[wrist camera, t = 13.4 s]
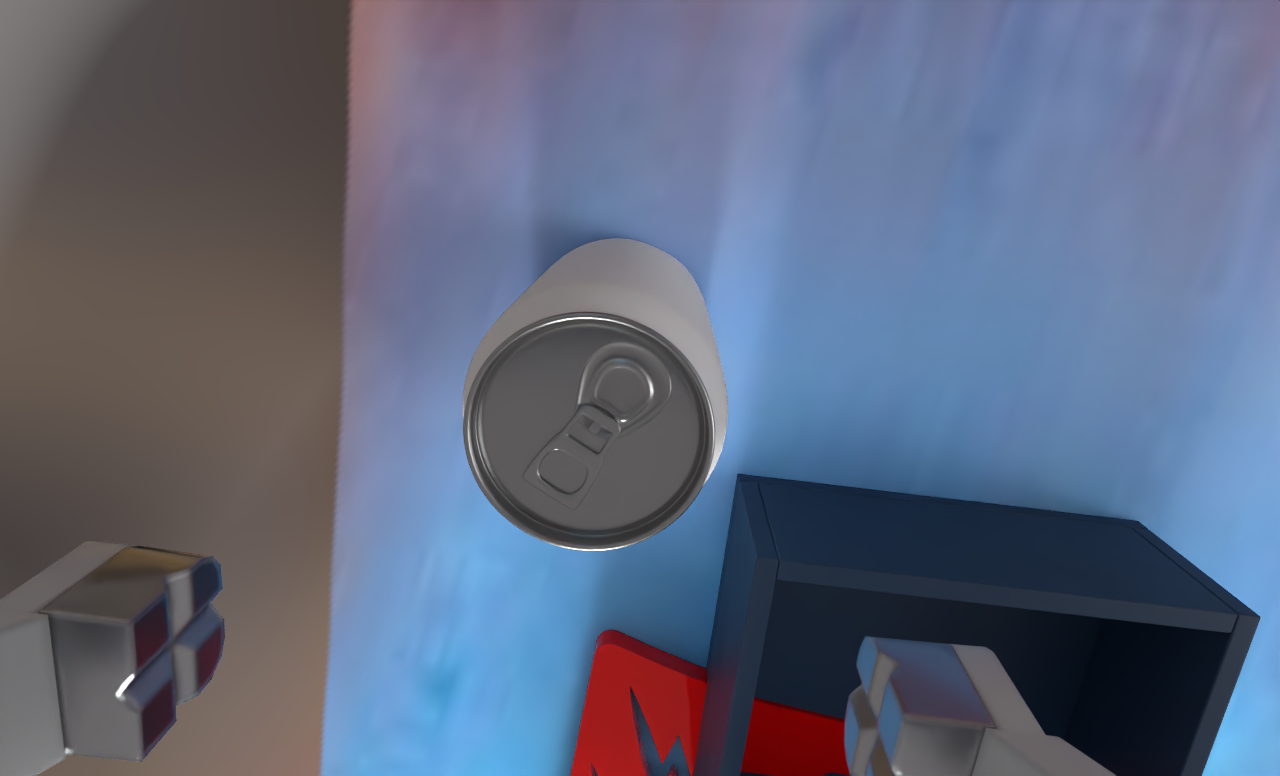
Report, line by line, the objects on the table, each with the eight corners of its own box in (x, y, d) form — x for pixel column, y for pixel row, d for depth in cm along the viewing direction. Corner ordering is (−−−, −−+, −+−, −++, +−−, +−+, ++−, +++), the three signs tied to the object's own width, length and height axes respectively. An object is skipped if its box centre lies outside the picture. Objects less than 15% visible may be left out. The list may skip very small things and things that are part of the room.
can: (744, 303, 29) (794, 402, 18) (642, 443, 31) (627, 616, 19) (593, 199, 28) (543, 230, 17) (497, 348, 30) (390, 470, 18)
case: (737, 473, 31) (756, 557, 25) (1138, 520, 31) (1262, 616, 25) (691, 763, 35) (697, 902, 28) (1049, 805, 35) (1136, 953, 28)
